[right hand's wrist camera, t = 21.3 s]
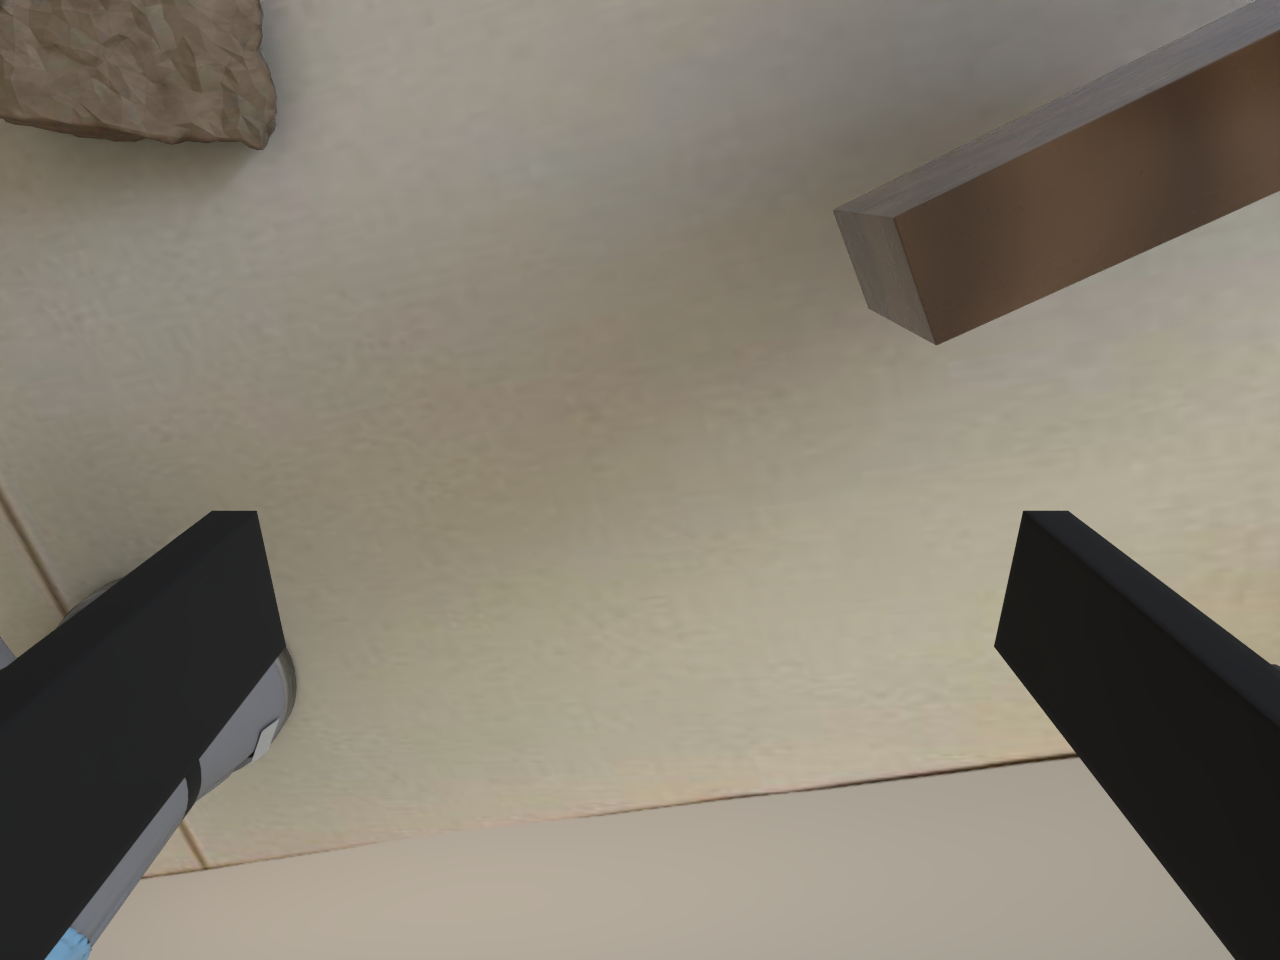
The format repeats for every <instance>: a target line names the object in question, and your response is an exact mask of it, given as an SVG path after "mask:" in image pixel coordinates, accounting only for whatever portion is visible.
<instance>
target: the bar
mask: <svg viewBox="0 0 1280 960" xmlns="http://www.w3.org/2000/svg"><path fill="white" fill-rule="evenodd" d="M1278 191H1280V0H1256V1H1254V2H1252V3H1250V4H1248V5H1246V6H1244V7H1242V8H1240V9H1238V10H1236V11H1234V12H1232V13H1230V14H1228V15H1226V16H1224V17H1222V18H1220V19H1218V20H1216V21H1214V22H1212V23H1210V24H1208V25H1206V26H1204V27H1202V28H1200V29H1198V30H1196V31H1194V32H1192V33H1190V34H1188V35H1186V36H1184V37H1182V38H1180V39H1178V40H1176V41H1174V42H1171V43H1169V44H1167V45H1165V46H1163V47H1161V48H1159V49H1157V50H1155V51H1153V52H1151V53H1149V54H1147V55H1145V56H1143V57H1141V58H1139V59H1137V60H1135V61H1133V62H1131V63H1129V64H1127V65H1125V66H1123V67H1121V68H1119V69H1117V70H1115V71H1113V72H1111V73H1109V74H1107V75H1105V76H1103V77H1101V78H1099V79H1097V80H1095V81H1093V82H1091V83H1089V84H1087V85H1085V86H1083V87H1081V88H1079V89H1077V90H1075V91H1073V92H1071V93H1068V94H1066V95H1064V96H1062V97H1060V98H1058V99H1056V100H1054V101H1052V102H1050V103H1048V104H1046V105H1044V106H1042V107H1040V108H1038V109H1036V110H1034V111H1032V112H1030V113H1028V114H1026V115H1024V116H1022V117H1020V118H1018V119H1016V120H1014V121H1012V122H1010V123H1008V124H1006V125H1004V126H1002V127H1000V128H998V129H996V130H994V131H992V132H990V133H988V134H986V135H984V136H982V137H980V138H978V139H976V140H974V141H972V142H970V143H967V144H965V145H963V146H961V147H959V148H957V149H955V150H953V151H951V152H949V153H947V154H945V155H943V156H941V157H939V158H937V159H935V160H933V161H931V162H929V163H927V164H925V165H923V166H921V167H919V168H917V169H915V170H913V171H911V172H909V173H907V174H905V175H903V176H901V177H899V178H897V179H895V180H893V181H891V182H889V183H887V184H885V185H883V186H881V187H879V188H877V189H875V190H873V191H871V192H869V193H867V194H864V195H862V196H860V197H858V198H856V199H854V200H852V201H850V202H848V203H846V204H844V205H842V206H840V207H838V208H836V209H834V210H833V212H834V215H835V218H836V220H837V223H838V226H839V229H840V231H841V234H842V237H843V240H844V242H845V245H846V248H847V251H848V253H849V256H850V259H851V262H852V264H853V267H854V270H855V272H856V275H857V278H858V281H859V283H860V286H861V289H862V292H863V294H864V297H865V300H866V303H867V305H868V308H869V309H871V310H872V311H874V312H876V313H878V314H880V315H882V316H883V317H885V318H887V319H889V320H891V321H893V322H894V323H896V324H898V325H900V326H902V327H904V328H905V329H907V330H909V331H911V332H913V333H915V334H917V335H918V336H920V337H922V338H924V339H926V340H928V341H929V342H931V343H933V344H935V345H939V344H941V343H943V342H945V341H947V340H950V339H952V338H954V337H956V336H959V335H961V334H963V333H965V332H967V331H970V330H972V329H974V328H976V327H979V326H981V325H983V324H985V323H987V322H990V321H992V320H994V319H996V318H998V317H1001V316H1003V315H1005V314H1007V313H1010V312H1012V311H1014V310H1016V309H1018V308H1021V307H1023V306H1025V305H1027V304H1030V303H1032V302H1034V301H1036V300H1038V299H1041V298H1043V297H1045V296H1047V295H1050V294H1052V293H1054V292H1056V291H1058V290H1061V289H1063V288H1065V287H1067V286H1070V285H1072V284H1074V283H1076V282H1078V281H1081V280H1083V279H1085V278H1087V277H1089V276H1092V275H1094V274H1096V273H1098V272H1101V271H1103V270H1105V269H1107V268H1109V267H1112V266H1114V265H1116V264H1118V263H1121V262H1123V261H1125V260H1127V259H1129V258H1132V257H1134V256H1136V255H1138V254H1141V253H1143V252H1145V251H1147V250H1149V249H1152V248H1154V247H1156V246H1158V245H1160V244H1163V243H1165V242H1167V241H1169V240H1172V239H1174V238H1176V237H1178V236H1180V235H1183V234H1185V233H1187V232H1189V231H1192V230H1194V229H1196V228H1198V227H1200V226H1203V225H1205V224H1207V223H1209V222H1212V221H1214V220H1216V219H1218V218H1220V217H1223V216H1225V215H1227V214H1229V213H1232V212H1234V211H1236V210H1238V209H1240V208H1243V207H1245V206H1247V205H1249V204H1251V203H1254V202H1256V201H1258V200H1260V199H1263V198H1265V197H1267V196H1269V195H1271V194H1274V193H1276V192H1278Z"/></svg>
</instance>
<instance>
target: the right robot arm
mask: <svg viewBox="0 0 1280 960" xmlns="http://www.w3.org/2000/svg"><path fill="white" fill-rule="evenodd" d="M994 647H995V648H996V650H997V651H998V652H999V654H1000V655H1001V656H1002V657H1003V659H1004V660H1005V661H1006V663H1007V664H1008V665H1009V667H1010V668H1011V669H1012V670H1013V672H1014V673H1015V674H1016V676H1017V677H1018V678H1019V680H1020V681H1021V682H1022V683H1023V685H1024V686H1025V687H1026V689H1027V690H1028V691H1029V692H1030V694H1031V695H1032V696H1033V698H1034V699H1035V700H1036V702H1037V703H1038V704H1039V705H1040V707H1041V708H1042V709H1043V711H1044V712H1045V713H1046V715H1047V716H1048V717H1049V718H1050V720H1051V721H1052V722H1053V724H1054V725H1055V726H1056V728H1057V729H1058V730H1059V731H1060V733H1061V734H1062V735H1063V737H1064V738H1065V739H1066V741H1067V742H1068V743H1069V744H1070V746H1071V747H1072V748H1073V750H1074V751H1075V752H1076V753H1077V755H1078V756H1079V757H1080V759H1081V760H1082V761H1083V763H1084V764H1085V765H1086V766H1087V768H1088V769H1089V770H1090V772H1091V773H1092V774H1093V776H1094V777H1095V778H1096V779H1097V781H1098V782H1099V783H1100V785H1101V786H1102V787H1103V789H1104V790H1105V791H1106V792H1107V794H1108V795H1109V796H1110V798H1111V799H1112V800H1113V802H1114V803H1115V804H1116V805H1117V807H1118V808H1119V809H1120V811H1121V812H1122V813H1123V814H1124V816H1125V817H1126V818H1127V820H1128V821H1129V822H1130V824H1131V825H1132V826H1133V827H1134V829H1135V830H1136V831H1137V833H1138V834H1139V835H1140V837H1141V838H1142V839H1143V840H1144V842H1145V843H1146V844H1147V846H1148V847H1149V848H1150V849H1151V851H1152V852H1153V853H1154V855H1155V856H1156V857H1157V859H1158V860H1159V861H1160V863H1161V864H1162V865H1163V866H1164V868H1165V869H1166V870H1167V872H1168V873H1169V874H1170V875H1171V877H1172V878H1173V879H1174V881H1175V882H1176V883H1177V885H1178V886H1179V887H1180V888H1181V890H1182V891H1183V892H1184V894H1185V895H1186V896H1187V898H1188V899H1189V900H1190V901H1191V903H1192V904H1193V905H1194V907H1195V908H1196V909H1197V910H1198V912H1199V913H1200V914H1201V916H1202V917H1203V918H1204V920H1205V921H1206V922H1207V924H1208V925H1209V926H1210V927H1211V929H1212V930H1213V931H1214V933H1215V934H1216V935H1217V936H1218V938H1219V939H1220V940H1221V942H1222V943H1223V944H1224V946H1225V947H1226V948H1227V950H1228V951H1229V952H1230V953H1231V955H1232V956H1233V957H1234V959H1235V960H1280V666H1278V665H1276V664H1270V663H1268V662H1267V661H1266V660H1264V659H1263V658H1262V657H1260V656H1259V655H1258V654H1256V653H1255V652H1254V651H1252V650H1251V649H1250V648H1249V647H1247V646H1246V645H1245V644H1243V643H1242V642H1241V641H1239V640H1238V639H1237V638H1235V637H1234V636H1233V635H1231V634H1230V633H1229V632H1227V631H1226V630H1225V629H1223V628H1222V627H1221V626H1219V625H1218V624H1217V623H1216V622H1214V621H1213V620H1212V619H1210V618H1209V617H1208V616H1206V615H1205V614H1204V613H1202V612H1201V611H1200V610H1198V609H1197V608H1196V607H1194V606H1193V605H1192V604H1190V603H1189V602H1188V601H1186V600H1185V599H1184V598H1182V597H1181V596H1180V595H1179V594H1177V593H1176V592H1175V591H1173V590H1172V589H1171V588H1169V587H1168V586H1167V585H1165V584H1164V583H1163V582H1161V581H1160V580H1159V579H1157V578H1156V577H1155V576H1153V575H1152V574H1151V573H1149V572H1148V571H1147V570H1145V569H1144V568H1143V567H1142V566H1140V565H1139V564H1138V563H1136V562H1135V561H1134V560H1132V559H1131V558H1130V557H1128V556H1127V555H1126V554H1124V553H1123V552H1122V551H1120V550H1119V549H1118V548H1116V547H1115V546H1114V545H1112V544H1111V543H1110V542H1108V541H1107V540H1106V539H1105V538H1103V537H1102V536H1101V535H1099V534H1098V533H1097V532H1095V531H1094V530H1093V529H1091V528H1090V527H1089V526H1087V525H1086V524H1085V523H1083V522H1082V521H1081V520H1079V519H1078V518H1077V517H1075V516H1074V515H1073V514H1071V513H1070V512H1069V511H1023V514H1022V519H1021V524H1020V528H1019V533H1018V538H1017V542H1016V547H1015V552H1014V556H1013V561H1012V566H1011V570H1010V575H1009V580H1008V584H1007V589H1006V593H1005V598H1004V603H1003V607H1002V612H1001V617H1000V621H999V626H998V631H997V635H996V640H995V645H994ZM295 696H296V677H295V671H294V667H293V663H292V660H291V658H290V655H289V652H288V651H287V649H286V645H285V640H284V635H283V631H282V626H281V621H280V617H279V612H278V607H277V603H276V598H275V593H274V589H273V584H272V580H271V575H270V570H269V566H268V561H267V556H266V552H265V547H264V542H263V538H262V533H261V528H260V524H259V519H258V514H257V511H211V512H210V513H209V514H207V515H206V516H205V517H203V518H202V519H201V520H199V521H198V522H197V523H195V524H194V525H193V526H191V527H190V528H189V529H187V530H186V531H185V532H183V533H182V534H181V535H179V536H178V537H177V538H175V539H174V540H173V541H172V542H170V543H169V544H168V545H166V546H165V547H164V548H162V549H161V550H160V551H158V552H157V553H156V554H154V555H153V556H152V557H150V558H149V559H148V560H146V561H145V562H144V563H142V564H141V565H140V566H138V567H137V568H136V569H135V570H133V571H132V572H131V573H129V574H128V575H127V576H125V577H124V578H121V579H118V580H115V581H113V582H111V583H109V584H106V585H104V586H103V587H101V588H100V589H98V590H97V591H95V592H94V593H92V594H91V595H90V596H88V597H87V598H86V599H84V600H83V601H82V602H80V603H79V604H78V605H77V606H75V607H74V608H73V609H72V610H71V611H70V612H69V613H68V614H67V615H66V616H65V617H64V619H63V620H62V622H61V623H60V624H59V626H58V627H57V629H55V630H54V631H53V632H51V633H50V634H49V635H47V636H46V637H45V638H43V639H42V640H41V641H39V642H38V643H37V644H35V645H34V646H33V647H31V648H30V649H29V650H28V651H26V652H25V653H24V654H22V655H21V656H20V657H18V658H16V657H15V656H14V654H13V653H12V652H11V650H10V649H9V648H8V646H7V645H6V644H5V642H4V641H3V640H2V638H1V637H0V960H87V959H88V957H89V954H90V952H91V950H92V949H91V948H92V946H93V945H94V944H95V942H96V941H97V939H98V938H99V937H100V935H101V934H102V932H103V931H104V930H105V928H106V927H107V925H108V924H109V923H110V921H111V920H112V918H113V917H114V916H115V914H116V913H117V911H118V910H119V909H120V907H121V906H122V904H123V903H124V902H125V900H126V899H127V897H128V896H129V895H130V893H131V892H132V890H133V889H134V887H135V886H136V885H137V883H138V882H139V881H140V879H141V878H142V876H143V875H144V873H145V872H146V871H147V869H148V868H149V866H150V865H151V864H152V862H153V861H154V859H155V858H156V857H157V855H158V854H159V852H160V851H161V850H162V848H163V847H164V845H165V844H166V843H167V841H168V840H169V838H170V837H171V836H172V834H173V833H174V831H175V830H176V829H177V827H178V826H179V824H180V823H181V821H182V820H183V818H184V817H185V816H186V814H187V813H188V812H189V810H190V809H191V808H192V806H193V805H194V803H195V802H196V801H197V800H198V799H200V798H201V797H203V796H204V795H205V794H207V793H208V792H210V791H211V790H212V789H214V788H215V787H216V786H218V785H219V784H220V783H222V782H223V781H224V780H225V779H226V778H227V777H229V776H230V775H231V773H232V772H234V771H236V770H238V769H240V768H242V767H244V766H245V765H247V764H248V763H250V762H251V761H252V762H251V764H253V763H254V762H255V761H256V760H258V759H259V758H260V757H262V756H263V755H264V754H265V753H267V752H268V750H269V747H270V744H271V743H272V742H273V740H274V739H275V737H276V736H277V734H278V733H279V731H280V730H281V728H282V727H283V725H284V724H285V722H286V721H287V719H288V717H289V715H290V713H291V711H292V708H293V705H294V701H295Z"/></svg>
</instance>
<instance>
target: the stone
mask: <svg viewBox="0 0 1280 960" xmlns="http://www.w3.org/2000/svg"><path fill="white" fill-rule="evenodd" d="M262 17H263V11H262V8H261V5H260V2H259V0H0V118H4V119H5V121H6V122H8V123H12V124H16V125H25V126H33V127H37V128H41V129H46V130H51V131H55V132H60V133H66V134H72V135H74V136H77V137H84V138H98V139H108V140H112V141H133V142H136V141H138V140H141V139H144V138H150V139H154V140H157V141H161V142H164V143H168V144H171V145H172V144H176V143H181V142H184V141H193V142H204V143H210V142H213V141H222V142H235V141H241V142H243V143H244V144H245V145H247V146H248V147H250V148H253V149H256V150H263V149H264V148H265V146H266V145H267V143H268V140H269V137H270V136H271V134H272V133H273V132H274V130H275V125H276V124H275V121H274V117H275V115H276V113H277V110H276V92H275V88H274V85H273V82H272V79H271V74H270V70H269V68H268V66H267V63H266V62H265V60H264V58H263V56H262V54H261V52H260V44H261V40H262V28H261V25H262Z"/></svg>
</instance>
